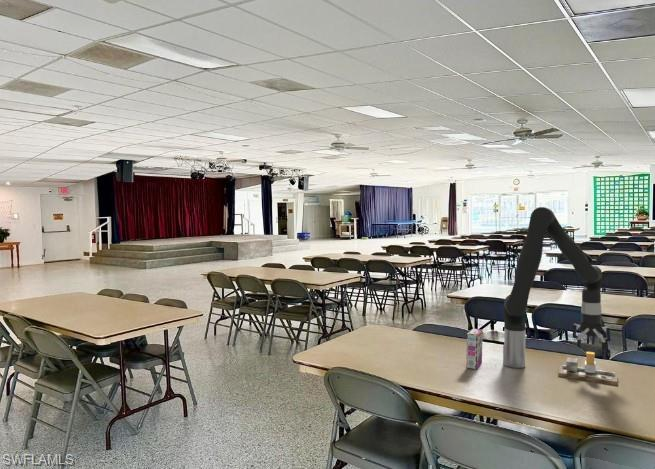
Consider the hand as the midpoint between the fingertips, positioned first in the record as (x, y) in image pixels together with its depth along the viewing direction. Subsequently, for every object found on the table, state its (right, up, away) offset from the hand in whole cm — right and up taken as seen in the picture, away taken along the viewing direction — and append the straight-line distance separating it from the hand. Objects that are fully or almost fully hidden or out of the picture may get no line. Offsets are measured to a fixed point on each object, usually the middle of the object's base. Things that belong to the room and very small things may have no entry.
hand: (591, 349), depth 203 cm
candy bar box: (-45, -12, +17) cm, 50 cm away
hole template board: (-1, -12, +1) cm, 12 cm away
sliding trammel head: (0, -10, +1) cm, 10 cm away
